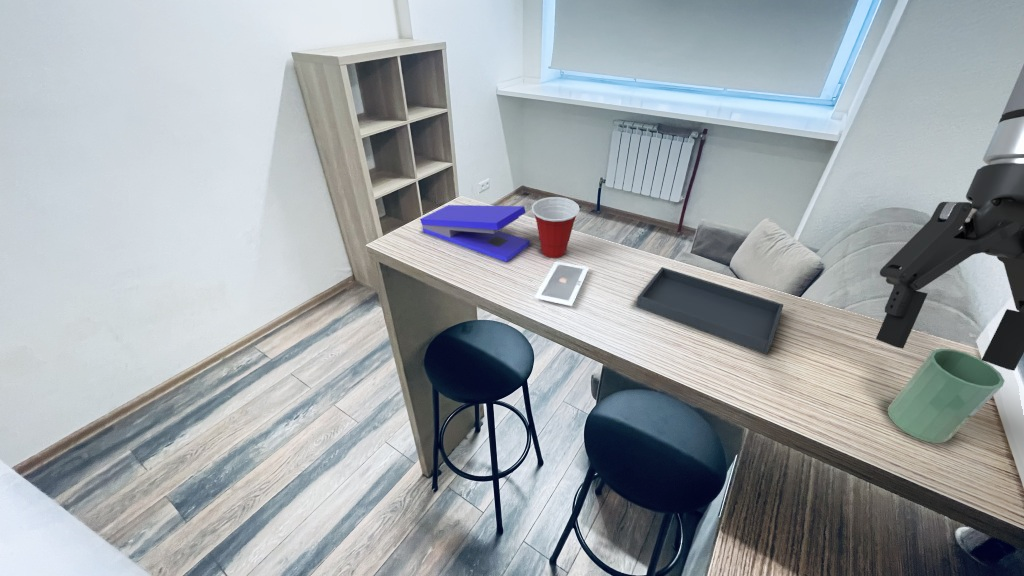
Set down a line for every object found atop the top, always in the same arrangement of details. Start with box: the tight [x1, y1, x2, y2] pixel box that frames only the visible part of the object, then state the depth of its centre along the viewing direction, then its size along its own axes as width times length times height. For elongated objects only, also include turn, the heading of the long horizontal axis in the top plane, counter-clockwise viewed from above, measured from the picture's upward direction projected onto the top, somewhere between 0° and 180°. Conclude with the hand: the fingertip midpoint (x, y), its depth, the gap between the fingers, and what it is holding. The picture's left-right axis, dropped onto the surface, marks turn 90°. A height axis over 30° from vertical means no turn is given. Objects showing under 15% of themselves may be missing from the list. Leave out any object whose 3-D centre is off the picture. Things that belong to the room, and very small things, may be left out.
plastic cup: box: [531, 196, 581, 259], centre depth 95 cm, size 11×11×12 cm
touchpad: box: [533, 260, 590, 307], centre depth 86 cm, size 8×15×2 cm, turn 158°
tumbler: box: [887, 348, 1005, 444], centre depth 55 cm, size 7×7×11 cm
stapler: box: [420, 204, 531, 263], centre depth 102 cm, size 12×28×10 cm, turn 55°
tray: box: [635, 266, 784, 355], centre depth 78 cm, size 23×13×2 cm, turn 54°
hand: (943, 354), depth 47 cm, fingers open, 13 cm apart
